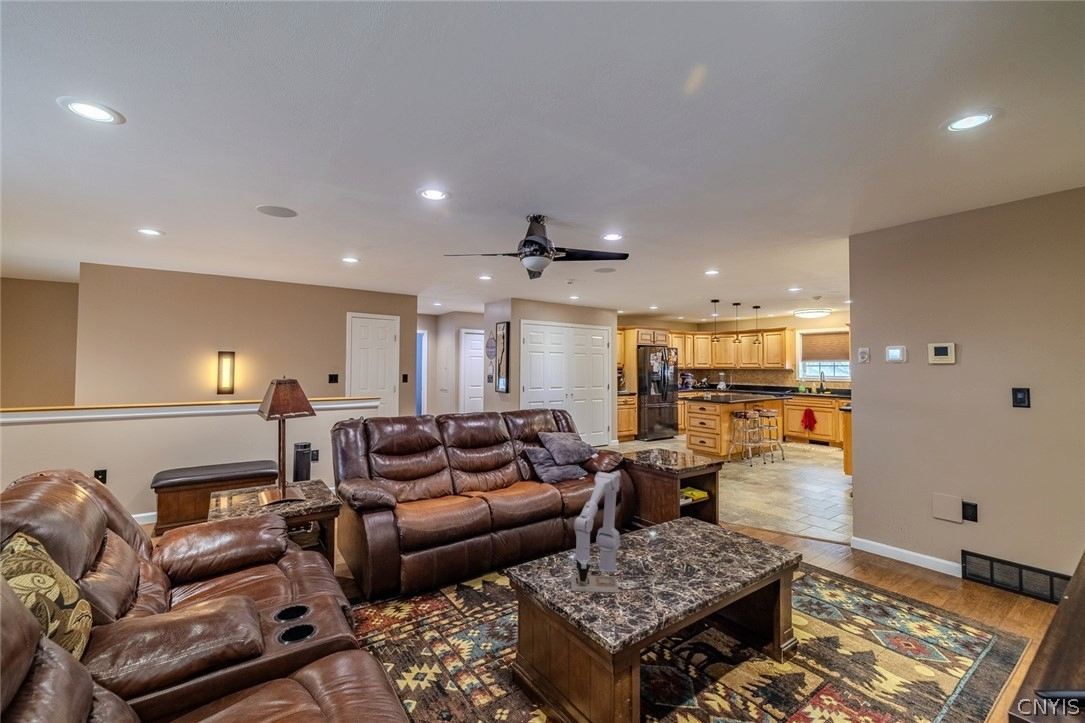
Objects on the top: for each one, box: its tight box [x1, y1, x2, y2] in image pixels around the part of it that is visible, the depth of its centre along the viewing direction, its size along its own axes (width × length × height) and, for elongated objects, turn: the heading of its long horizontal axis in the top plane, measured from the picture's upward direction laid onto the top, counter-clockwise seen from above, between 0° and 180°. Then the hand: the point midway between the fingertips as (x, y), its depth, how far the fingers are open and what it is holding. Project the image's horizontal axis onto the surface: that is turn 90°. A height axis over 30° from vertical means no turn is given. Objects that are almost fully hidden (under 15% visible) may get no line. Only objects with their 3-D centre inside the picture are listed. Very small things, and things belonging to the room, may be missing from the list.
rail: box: [570, 574, 619, 593], centre depth 189 cm, size 10×19×2 cm, turn 88°
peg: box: [577, 570, 589, 584], centre depth 189 cm, size 4×4×8 cm
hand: (582, 578), depth 189 cm, fingers closed on peg, 4 cm apart
